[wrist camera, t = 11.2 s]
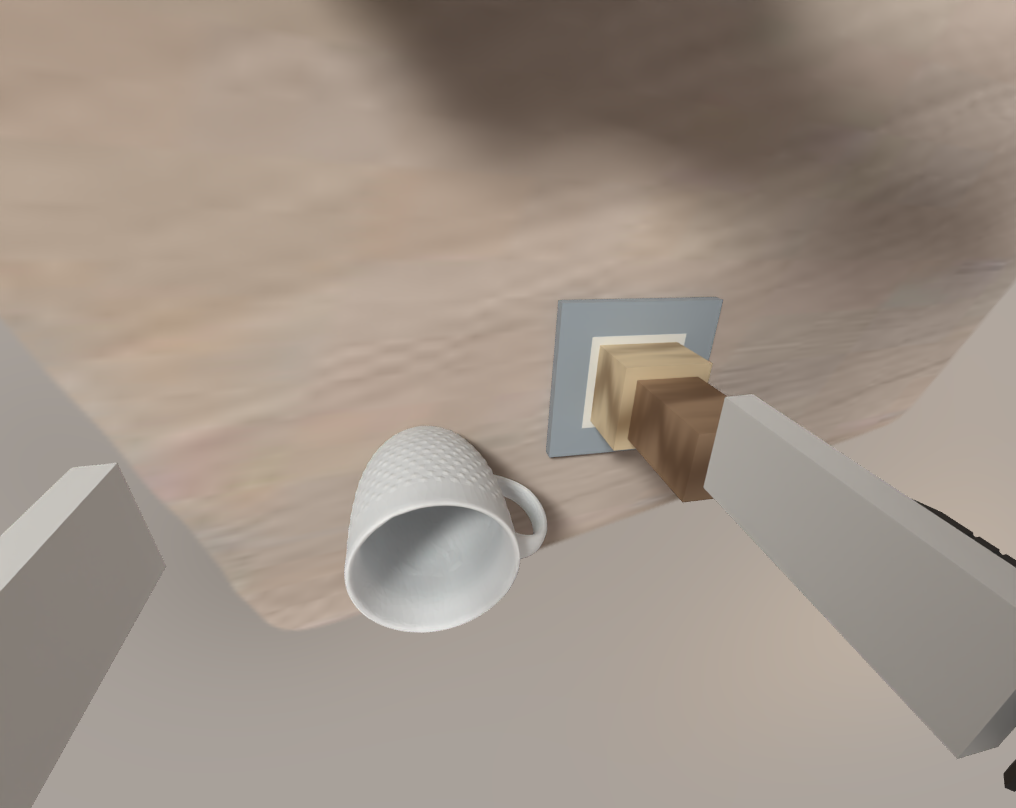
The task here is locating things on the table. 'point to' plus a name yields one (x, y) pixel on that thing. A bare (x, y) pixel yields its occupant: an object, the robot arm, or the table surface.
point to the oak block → (635, 382)
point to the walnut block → (677, 431)
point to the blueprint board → (612, 325)
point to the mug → (434, 533)
